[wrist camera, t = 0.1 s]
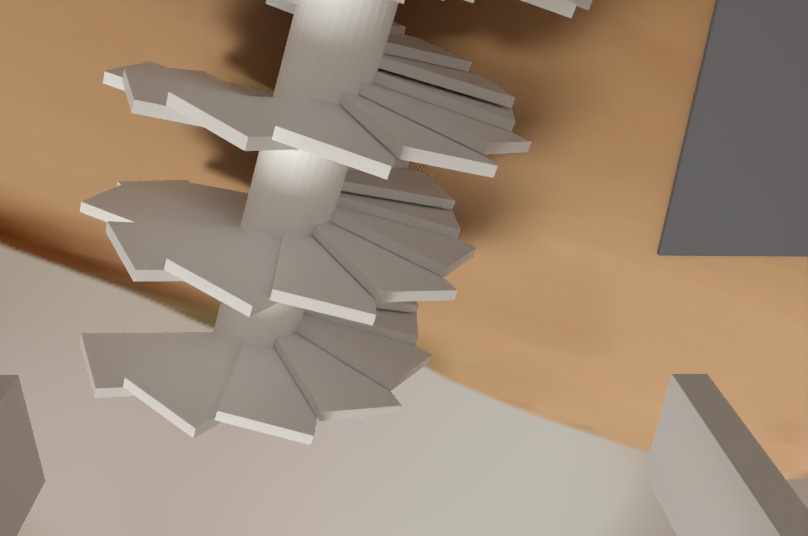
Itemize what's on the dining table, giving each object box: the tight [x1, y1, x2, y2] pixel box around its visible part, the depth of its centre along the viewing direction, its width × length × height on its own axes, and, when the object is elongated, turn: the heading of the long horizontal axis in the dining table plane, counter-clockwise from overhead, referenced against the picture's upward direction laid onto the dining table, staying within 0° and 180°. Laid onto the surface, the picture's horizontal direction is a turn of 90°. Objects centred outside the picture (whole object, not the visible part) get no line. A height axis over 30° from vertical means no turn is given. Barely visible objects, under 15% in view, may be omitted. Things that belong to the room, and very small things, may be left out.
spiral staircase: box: [80, 0, 593, 445], centre depth 31 cm, size 18×18×25 cm
